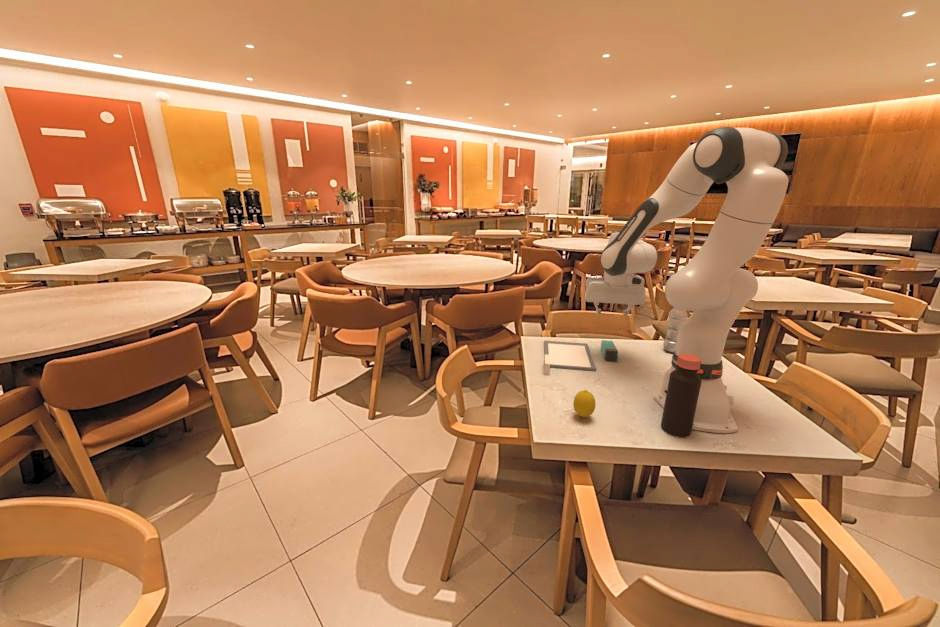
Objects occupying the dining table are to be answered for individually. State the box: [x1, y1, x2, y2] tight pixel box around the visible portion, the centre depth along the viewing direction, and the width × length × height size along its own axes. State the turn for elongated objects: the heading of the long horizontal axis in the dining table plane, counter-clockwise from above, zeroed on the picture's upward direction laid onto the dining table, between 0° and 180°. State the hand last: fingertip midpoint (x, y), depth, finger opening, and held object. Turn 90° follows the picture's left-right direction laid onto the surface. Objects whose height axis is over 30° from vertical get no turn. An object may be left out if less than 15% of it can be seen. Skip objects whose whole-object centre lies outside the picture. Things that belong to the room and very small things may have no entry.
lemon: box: [573, 389, 596, 418], centre depth 99 cm, size 6×6×8 cm
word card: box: [543, 354, 551, 376], centre depth 128 cm, size 8×2×4 cm, turn 170°
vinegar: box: [660, 354, 702, 438], centre depth 92 cm, size 7×7×20 cm
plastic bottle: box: [663, 307, 689, 354], centre depth 142 cm, size 6×7×20 cm
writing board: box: [543, 340, 597, 372], centre depth 140 cm, size 24×17×1 cm
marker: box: [600, 339, 619, 363], centre depth 141 cm, size 13×4×4 cm, turn 170°
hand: (611, 314), depth 136 cm, fingers open, 8 cm apart
